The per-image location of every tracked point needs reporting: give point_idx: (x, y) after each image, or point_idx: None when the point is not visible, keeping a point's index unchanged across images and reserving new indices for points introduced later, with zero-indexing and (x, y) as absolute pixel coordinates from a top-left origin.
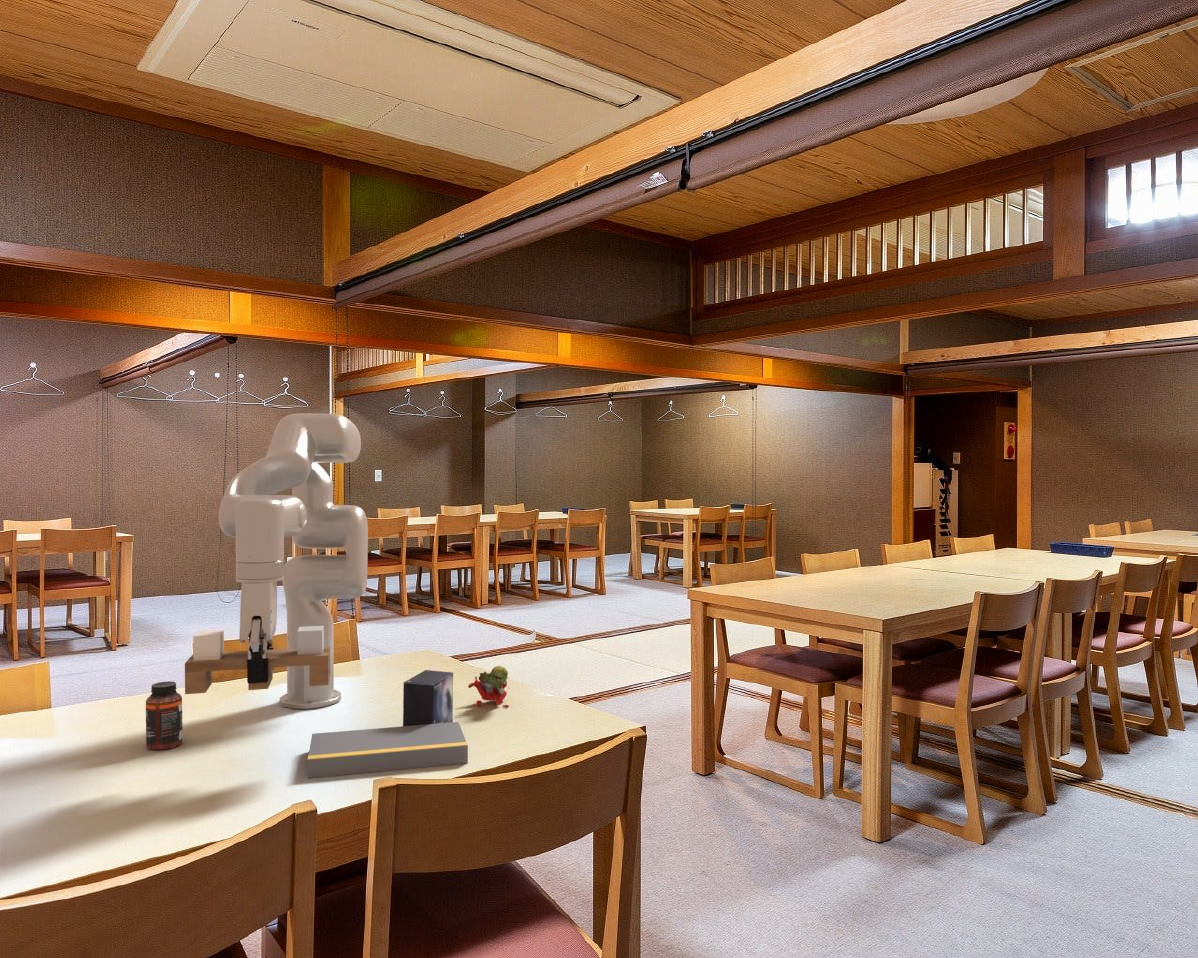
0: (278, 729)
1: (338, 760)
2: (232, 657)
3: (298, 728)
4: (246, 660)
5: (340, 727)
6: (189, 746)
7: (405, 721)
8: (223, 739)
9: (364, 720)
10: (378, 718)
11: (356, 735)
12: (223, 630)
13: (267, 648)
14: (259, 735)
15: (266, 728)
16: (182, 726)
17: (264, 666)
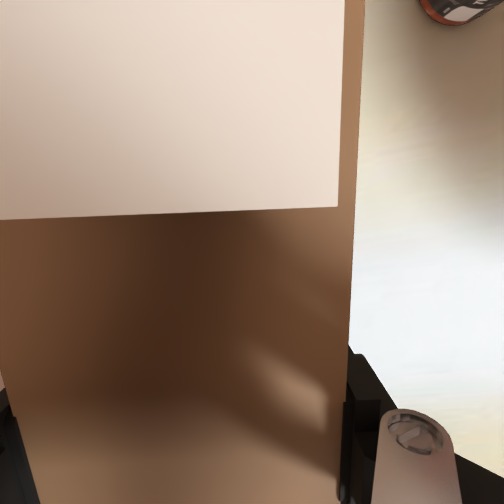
0: (479, 245)
1: None
2: (107, 283)
3: (469, 286)
4: (10, 398)
5: (441, 365)
6: (424, 54)
7: (343, 501)
8: (450, 131)
9: (471, 403)
10: (473, 425)
11: None
12: (311, 197)
13: (352, 483)
14: (450, 210)
15: (498, 218)
16: (493, 5)
17: None
